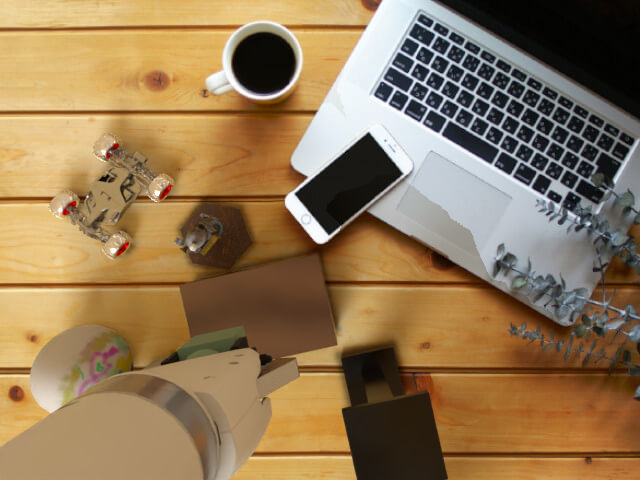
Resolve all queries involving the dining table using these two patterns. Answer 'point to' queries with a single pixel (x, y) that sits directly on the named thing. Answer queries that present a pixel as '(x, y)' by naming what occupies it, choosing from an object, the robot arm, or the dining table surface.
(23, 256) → the dining table surface
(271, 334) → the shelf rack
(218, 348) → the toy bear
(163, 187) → the toy car
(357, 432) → the plant stand
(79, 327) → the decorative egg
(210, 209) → the robot figurine
